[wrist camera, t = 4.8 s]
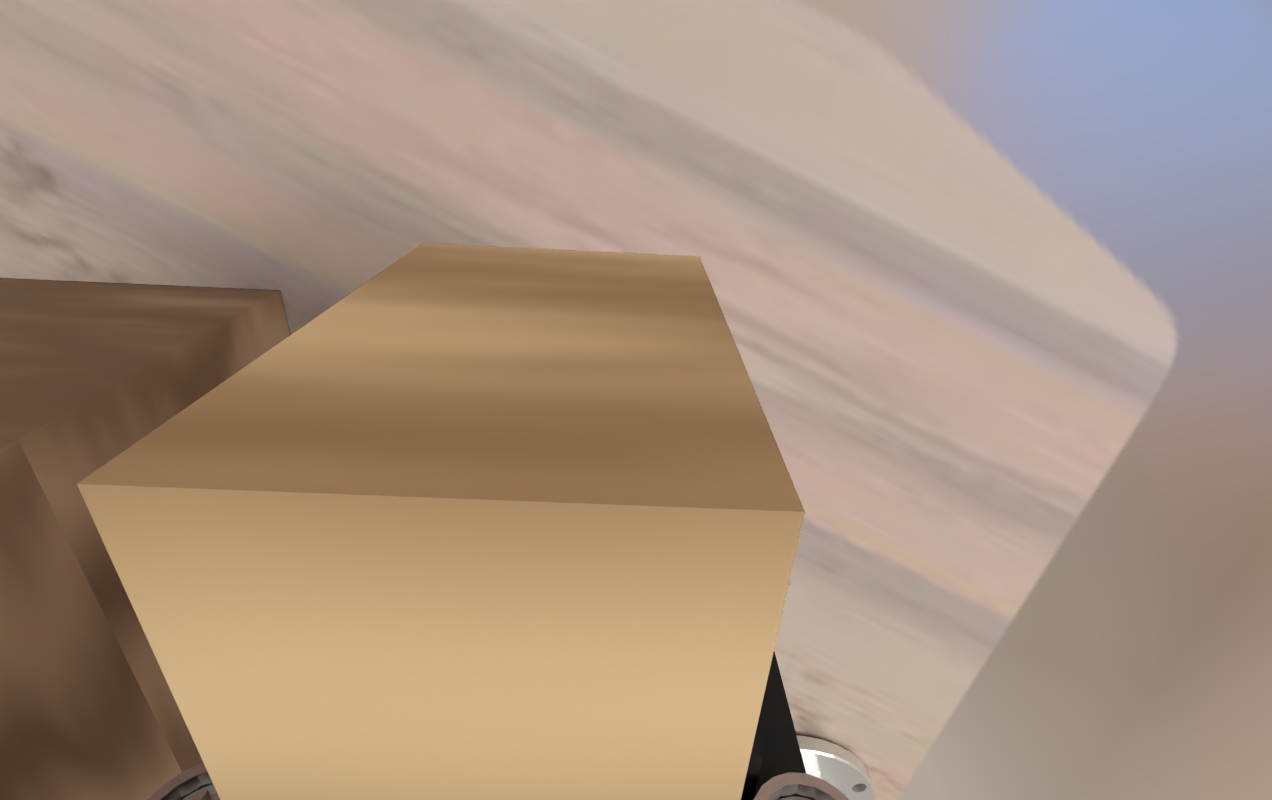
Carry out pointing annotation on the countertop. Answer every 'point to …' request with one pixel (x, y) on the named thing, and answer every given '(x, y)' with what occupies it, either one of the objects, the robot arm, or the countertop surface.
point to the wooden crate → (66, 534)
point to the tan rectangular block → (469, 540)
